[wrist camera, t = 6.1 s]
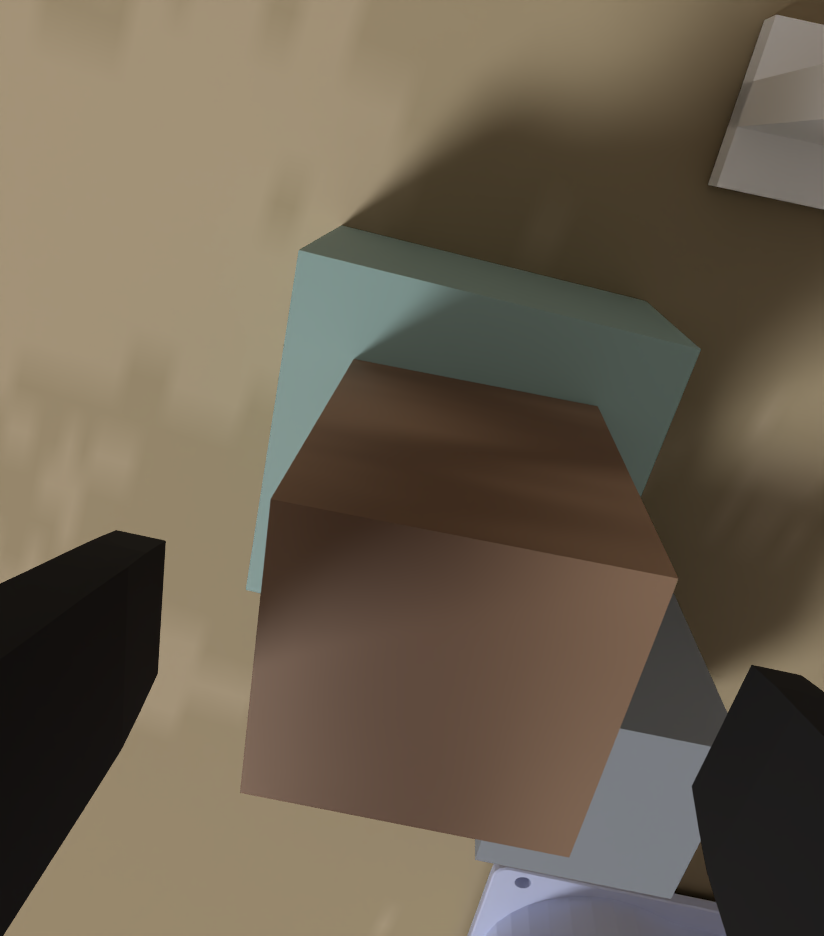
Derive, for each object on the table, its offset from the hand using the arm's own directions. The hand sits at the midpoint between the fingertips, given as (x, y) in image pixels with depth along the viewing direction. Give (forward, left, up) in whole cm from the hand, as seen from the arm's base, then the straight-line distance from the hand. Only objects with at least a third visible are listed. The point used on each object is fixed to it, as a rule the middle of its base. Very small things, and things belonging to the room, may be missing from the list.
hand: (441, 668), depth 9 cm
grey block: (-4, +6, -10) cm, 12 cm away
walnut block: (0, 0, -5) cm, 5 cm away
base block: (0, 0, -10) cm, 10 cm away
